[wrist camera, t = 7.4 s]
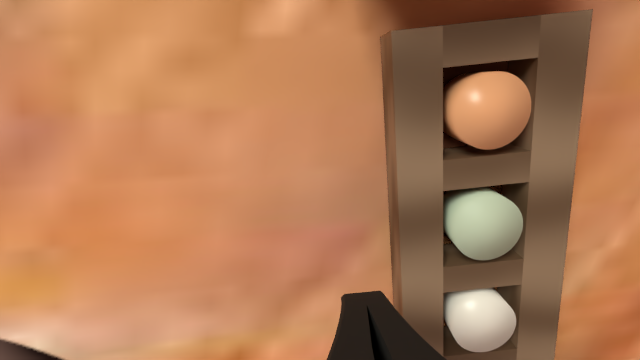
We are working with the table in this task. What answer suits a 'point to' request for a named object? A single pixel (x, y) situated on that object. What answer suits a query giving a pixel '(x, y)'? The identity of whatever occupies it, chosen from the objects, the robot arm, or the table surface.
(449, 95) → the orange button
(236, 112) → the table surface
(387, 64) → the button board
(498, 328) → the cream button
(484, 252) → the sage button
